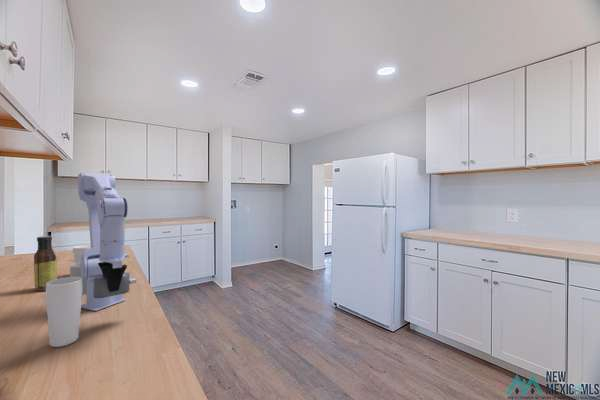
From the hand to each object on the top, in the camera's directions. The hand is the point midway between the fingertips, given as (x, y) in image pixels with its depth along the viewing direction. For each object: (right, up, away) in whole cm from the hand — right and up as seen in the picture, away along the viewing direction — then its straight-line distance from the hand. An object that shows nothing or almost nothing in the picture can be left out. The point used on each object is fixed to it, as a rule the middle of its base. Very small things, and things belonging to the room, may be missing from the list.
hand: (112, 288), depth 76 cm
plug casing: (0, -1, 0) cm, 1 cm away
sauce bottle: (-43, -9, +26) cm, 51 cm away
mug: (-26, -9, +25) cm, 37 cm away
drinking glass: (-4, -10, -11) cm, 15 cm away
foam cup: (-41, -9, +43) cm, 60 cm away
